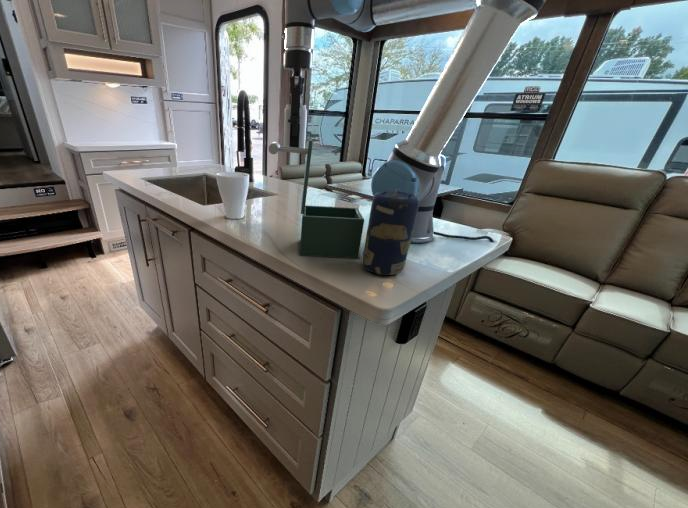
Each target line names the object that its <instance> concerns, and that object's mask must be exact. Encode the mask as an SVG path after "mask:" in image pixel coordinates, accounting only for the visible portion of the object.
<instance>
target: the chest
mask: <svg viewBox="0 0 688 508" xmlns="http://www.w3.org/2000/svg"><path fill="white" fill-rule="evenodd" d="M364 225H365V218H364V217H363V215H362V213H361V212H360V210H359V208H358V207H342V206H325V205H324V206H323V205H307V204H305V212H304V214H301V227H300V243H299V244H300V245H299V256H307V257H308V256H309V257H324V258H325V257H326V258H328V257H329V258H344V259H359V254H360V249H361V243H362V238H363V237H362V236H363V231H364Z"/></svg>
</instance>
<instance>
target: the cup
mask: <svg viewBox="0 0 688 508" xmlns="http://www.w3.org/2000/svg"><path fill="white" fill-rule="evenodd" d="M215 177H216V183H217V187H218V191H219V195H220V197H221V198H220V199H221V201H222V205H223V208H224V209H223V210H224V214H225V218H226V219H230V220H240V219H242V218H244V216H245V206H246V201H247V197H248V193H249V185H250V174H249V173H248V172H247V173H246V172H240V171H223V172H218V173H216V174H215Z"/></svg>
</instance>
